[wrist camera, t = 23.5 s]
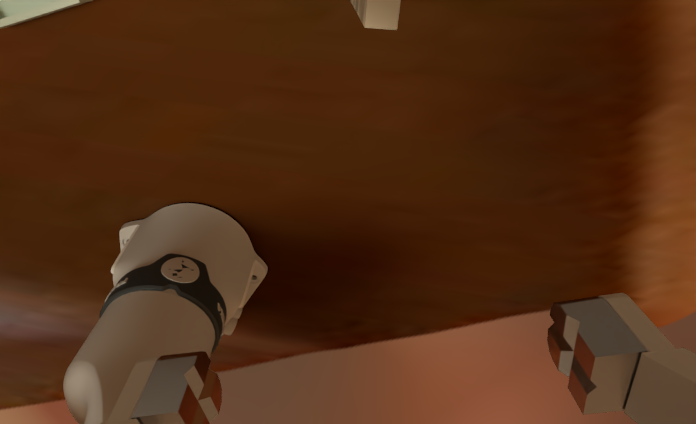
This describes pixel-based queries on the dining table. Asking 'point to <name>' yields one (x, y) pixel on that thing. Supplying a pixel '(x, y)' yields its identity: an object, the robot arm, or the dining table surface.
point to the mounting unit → (378, 13)
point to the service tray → (31, 9)
